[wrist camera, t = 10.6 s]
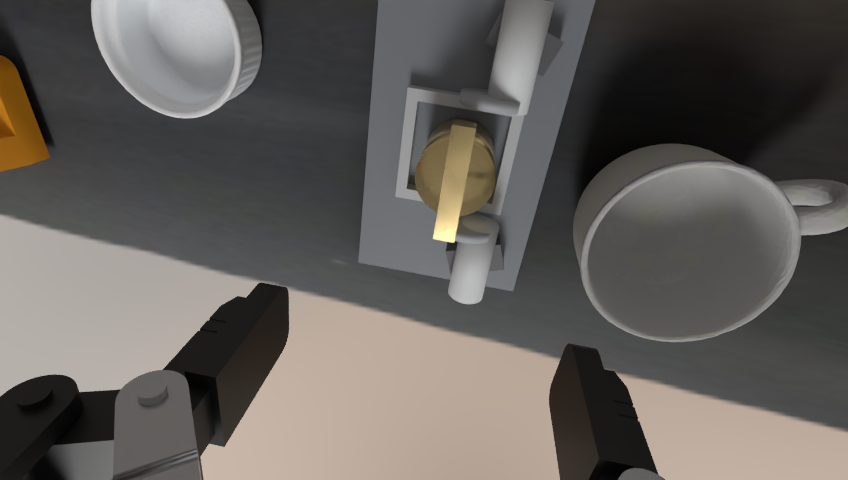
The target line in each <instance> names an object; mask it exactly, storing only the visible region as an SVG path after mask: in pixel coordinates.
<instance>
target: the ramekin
mask: <svg viewBox="0 0 848 480" xmlns="http://www.w3.org/2000/svg"><path fill="white" fill-rule="evenodd" d="M91 15H92V24H93V30H94V33H95V38H96V41H97V44H98V46H99V49H100V51H101V54H102V56H103V58H104V60H105V62H106V63H107V65H108V67H109V69H110V70H111V72H112V73H113V74H114V76H115V77H116V78H117V80H118V81H119V82H120V83H121V84H122V86H123V87H124V88H125V89H126V90H127V91H128V92H129V93H130V94H131V95H133V96H134V97H135V98H136V99H137V100H139V101H140V102H141V103H143V104H144V105H146V106H148V107H149V108H151V109H153V110H155V111H157V112H159V113H162V114H165V115H168V116H172V117H177V118H196V117H201V116H204V115H207V114H209V113H211V112H213V111H215V110H216V109H218V108H219V107H220V106H222V105H223V104H224V103H225V102H226V101H228V100H230V99H232V98H234V97H236V96H238V95H239V94H240V93H241V92H243V91H244V90H246V89H247V87H248V86H249V85H250V84H251V83H252V81H253V80H254V79H255V77H256V74H257V72H258V70H259V66H260V63H261V57H262V40H261V33H260V28H259V24H258V22H257V19H256V16H255V14H254V12H253V10H252V8H251V6H250V5H249V3H248V2H247V0H92V1H91Z"/></svg>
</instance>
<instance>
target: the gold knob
mask: <svg viewBox="0 0 848 480" xmlns="http://www.w3.org/2000/svg"><path fill="white" fill-rule="evenodd" d="M415 185H416V189H417V192H418V194H419V196H420V197H421V199H422V200H423V202H424V203H425V204H426V205H427V206H428V207H429V208H431V209H432V210H434V211H436V212H437V217H436V223H435V229H434V235H433V239H436V240H441V241H447V242H452V243H454V241H455V236H456V231H457V225H458V220H459V216H465V215H469V214H471V213H474V212H476V211H477V210H479V209H480V208H482V207H483V206H484V205H485V204H486V203H487V201H488V200H489V199H490V197H491V195H492V193H493V190H494V187H495V154H494V143H493V139H492V137H491V135H490V133H489V131H488V130H487V129H486V128H485V127H484V126H483V125H482V124H481V123H480V122H478V121H476V120H474V119H471V118H467V117H454V118H450V119H448V120H445V121H444V122H442V123H441V124H439V125H438V126H437V127H436V128H435V129H434V131H433V132H432V134H431V136H430V138H429V140H428V142H427V144H426V146H425V148H424V151H423V153H422V155H421V157H420V159H419V161H418V164H417V167H416V171H415Z"/></svg>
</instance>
